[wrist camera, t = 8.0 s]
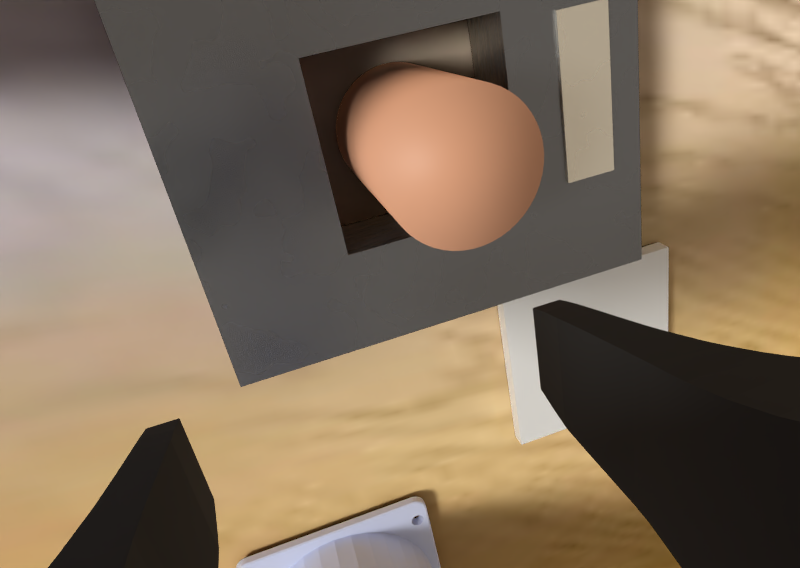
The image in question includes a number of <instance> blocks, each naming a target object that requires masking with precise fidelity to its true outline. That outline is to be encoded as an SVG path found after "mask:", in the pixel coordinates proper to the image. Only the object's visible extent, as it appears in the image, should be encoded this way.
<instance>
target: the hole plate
mask: <svg viewBox="0 0 800 568" xmlns="http://www.w3.org/2000/svg"><path fill="white" fill-rule="evenodd" d="M94 1H95V4H96V6H97V9H98V12H99V14H100V17H101V20H102V22H103V25H104V28H105V30H106V33H107V35H108V38H109V41H110V43H111V46H112V49H113V51H114V54H115V57H116V59H117V62H118V64H119V67H120V70H121V72H122V75H123V78H124V80H125V83H126V86H127V88H128V91H129V93H130V96H131V99H132V101H133V104H134V107H135V109H136V112H137V114H138V117H139V120H140V122H141V125H142V128H143V130H144V133H145V136H146V138H147V141H148V143H149V146H150V149H151V151H152V154H153V157H154V159H155V162H156V165H157V167H158V170H159V172H160V175H161V178H162V180H163V183H164V186H165V188H166V191H167V194H168V196H169V199H170V201H171V204H172V207H173V209H174V212H175V215H176V217H177V220H178V223H179V225H180V228H181V230H182V233H183V236H184V238H185V241H186V244H187V246H188V249H189V252H190V254H191V257H192V259H193V262H194V265H195V267H196V270H197V273H198V275H199V278H200V281H201V283H202V286H203V288H204V291H205V294H206V296H207V299H208V302H209V304H210V307H211V310H212V312H213V315H214V317H215V320H216V323H217V325H218V328H219V331H220V333H221V336H222V339H223V341H224V344H225V346H226V349H227V352H228V354H229V357H230V360H231V362H232V365H233V368H234V370H235V373H236V375H237V378H238V381H239V383H240V386H241V387H242V386H245V385H248V384H252V383H255V382H258V381H261V380H264V379H267V378H270V377H274V376H277V375H280V374H283V373H286V372H289V371H292V370H296V369H299V368H302V367H305V366H308V365H311V364H314V363H318V362H321V361H324V360H327V359H330V358H333V357H336V356H340V355H343V354H346V353H349V352H352V351H355V350H358V349H362V348H365V347H368V346H371V345H374V344H377V343H380V342H384V341H387V340H390V339H393V338H396V337H399V336H402V335H406V334H409V333H412V332H415V331H418V330H421V329H424V328H428V327H431V326H434V325H437V324H440V323H443V322H446V321H450V320H453V319H456V318H459V317H462V316H465V315H468V314H472V313H475V312H478V311H481V310H484V309H487V308H490V307H494V306H497V305H500V304H503V303H506V302H509V301H512V300H516V299H519V298H522V297H525V296H528V295H531V294H534V293H538V292H541V291H544V290H547V289H550V288H553V287H556V286H560V285H563V284H566V283H569V282H572V281H575V280H578V279H582V278H585V277H588V276H591V275H594V274H597V273H600V272H604V271H607V270H610V269H613V268H616V267H619V266H622V265H626V264H629V263H632V262H635V261H638V260H641V259H642V246H641V184H640V121H639V59H638V0H94ZM464 19H467V22H468V29H469V37H470V44H471V52H472V60H473V67H474V75H475V79H477V80H481V81H485V82H489V83H493V84H495V85H498V86H501V87H503V88H505V89H507V90H509V91H510V92H512V93H513V94H514V95H516V96H517V97H519V98H520V99H521V100H522V101H523V102H524V103H525V105H526V106H527V107H528V108H529V110H530V111H531V113H532V114H533V116H534V118H535V120H536V122H537V124H538V126H539V129H540V132H541V136H542V140H543V147H544V167H543V174H542V178H541V182H540V186H539V188H538V191H537V193H536V196H535V198H534V200H533V202H532V204H531V205H530V207H529V208H528V210H527V211H526V213H525V214H524V216H523V217H522V218H521V219H520V220H519V222H518V223H517V224H516V225H515V226H513V227H512V228H511V229H510V230H509V231H508V232H506V233H505V234H504V235H503V236H501V237H499V238H498V239H496V240H494V241H493V242H491V243H488V244H486V245H484V246H481V247H478V248H474V249H470V250H464V251H448V250H441V249H436V248H433V247H430V246H428V245H425V244H423V243H421V242H420V241H418V240H416V239H415V238H413V237H412V236H411V235H409V234H408V233H407V232H406V231H405V230H404V229H403V228H402V227H401V226H400V224H399V223H398V222H397V221H396V220H395V219H394V218H393V217H392V215H391V214H390V213H389V214H386V215H382V216H378V217H375V218H371V219H368V220H364V221H361V222H357V223H354V224H350V225H347V226H343V227H341V225H340V221H339V217H338V213H337V209H336V205H335V201H334V197H333V193H332V189H331V185H330V181H329V177H328V173H327V169H326V165H325V161H324V157H323V154H322V150H321V146H320V142H319V138H318V134H317V130H316V126H315V122H314V118H313V114H312V110H311V106H310V102H309V98H308V94H307V90H306V86H305V82H304V78H303V74H302V70H301V66H300V62H299V58H301V57H305V56H310V55H314V54H318V53H323V52H327V51H331V50H335V49H340V48H344V47H348V46H353V45H357V44H361V43H366V42H370V41H374V40H378V39H383V38H387V37H391V36H396V35H400V34H404V33H408V32H413V31H417V30H421V29H426V28H430V27H434V26H439V25H443V24H447V23H451V22H456V21H460V20H464Z"/></svg>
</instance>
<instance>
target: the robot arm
mask: <svg viewBox="0 0 800 568" xmlns="http://www.w3.org/2000/svg"><path fill="white" fill-rule="evenodd" d="M533 317H534V327H535V337H536V347H537V357H538V367H539V377H540V387H541V390H542V392H543V393H544V395H545V396H546V398H547V400H548V401H549V403H550V404H551V406H552V407H553V409H554V411H555V412H556V413H557V415H558V416H559V418H560V419H561V421H562V422H563V424H564V425H565V427H566V428H567V429H568V430H569V431H570V432H571V434H572V435H573V436H574V437H575V438H576V439H577V441H578V442H579V443H580V444H581V445H582V446H583V447H584V449H585V450H586V451H587V452H588V453H589V454H590V455H591V457H592V458H593V459H594V460H595V461H596V462H597V463H598V464H599V465H600V467H601V468H602V469H603V470H604V471H605V472H606V473H607V474H608V476H609V477H610V478H611V479H612V480H613V481H614V482H615V483H616V485H617V486H618V487H619V488H620V489H621V490H622V491H623V492H624V494H625V495H626V496H627V497H628V498H629V499H630V500H631V501H632V503H633V504H634V505H635V506H636V507H637V508H638V510H639V511H640V512H641V513H642V515H643V516H644V517H645V518H646V519H647V521H648V522H649V523H650V524H651V526H652V527H653V528H654V530H655V531H656V533H657V534H658V535H659V537H660V538H661V540H662V541H663V542H664V544H665V545H666V547H667V548H668V549H669V551H670V552H671V553H672V555H673V556H674V558H675V559H676V560H677V562H678V563H679V565H680V566H681V567H682V568H800V357H794V356H785V355H778V354H771V353H764V352H758V351H753V350H747V349H742V348H736V347H731V346H725V345H720V344H716V343H711V342H707V341H702V340H698V339H694V338H690V337H687V336H683V335H679V334H675V333H671V332H667V331H664V330H660V329H657V328H653V327H650V326H646V325H643V324H640V323H637V322H633V321H630V320H627V319H624V318H621V317H617V316H614V315H611V314H608V313H605V312H602V311H599V310H595V309H592V308H589V307H586V306H582V305H579V304H575V303H572V302H568V301H563V300H557V301H554V302H550V303H547V304H544V305H541V306H538V307H534V308H533ZM418 515H419V516H418ZM415 516H418V517H417V518H414V517H415ZM218 562H219V545H218V533H217V522H216V513H215V504H214V498H213V496H212V493H211V491H210V489H209V486H208V484H207V482H206V479H205V477H204V475H203V472H202V470H201V468H200V465H199V463H198V461H197V458H196V456H195V454H194V451H193V449H192V447H191V444H190V442H189V440H188V437H187V435H186V433H185V430H184V428H183V426H182V423H181V421H180V419H176V420H173V421H169V422H166V423H163V424H160V425H156V426H153V427H150V428H147V429H146V430H145V431H144V432H143V434H142V435H141V437H140V438H139V440H138V441H137V443H136V444H135V446H134V447H133V449H132V450H131V452H130V453H129V455H128V457H127V458H126V460H125V461H124V463H123V464H122V466H121V467H120V469H119V470H118V472H117V474H116V475H115V477H114V478H113V479H112V481H111V482H110V484H109V485H108V487H107V488H106V490H105V491H104V493H103V494H102V496H101V497H100V499H99V500H98V502H97V503H96V505H95V506H94V508H93V509H92V510H91V512H90V513H89V514H88V516H87V517H86V518H85V520H84V521H83V522H82V524H81V525H80V526H79V528H78V529H77V530H76V532H75V533H74V534H73V536H72V537H71V538H70V540H69V541H68V542H67V544H66V545H65V546H64V548H63V549H62V550H61V552H60V553H59V554H58V556H57V557H56V558H55V559H54V561H53V562H52V563H51V564H50V566H49V567H48V568H218ZM236 568H441V566H440V562H439V558H438V553H437V549H436V545H435V541H434V537H433V532H432V528H431V524H430V520H429V516H428V511H427V507H426V505H425V502H424V501H423V499H422V498H420V497H416V496H415V497H410V498H408V499H405V500H402V501H399V502H397V503H394V504H391V505H388V506H386V507H383V508H380V509H377V510H375V511H372V512H369V513H367V514H364V515H361V516H358V517H356V518H353V519H350V520H347V521H345V522H342V523H339V524H336V525H334V526H331V527H328V528H325V529H323V530H320V531H317V532H314V533H312V534H309V535H306V536H304V537H301V538H298V539H295V540H293V541H290V542H287V543H284V544H282V545H279V546H276V547H273V548H271V549H268V550H265V551H262V552H260V553H257V554H254V555H251V556H249V557H246V558H244V559H242V560H241V561H240V562H239V563H238V564H237V567H236Z"/></svg>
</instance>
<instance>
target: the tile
mask: <svg viewBox="0 0 800 568" xmlns="http://www.w3.org/2000/svg"><path fill="white" fill-rule="evenodd" d="M668 273H669V247H668V246H666V245H664V244H662V243H660V242H657V243H654V244H651V245H647V246H644V247H642V259H641V260H638V261H635V262H632V263H629V264H626V265H622V266H619V267H616V268H613V269H610V270H607V271H604V272H600V273H597V274H594V275H591V276H588V277H585V278H582V279H578V280H575V281H572V282H569V283H566V284H563V285H560V286H556V287H553V288H550V289H547V290H544V291H541V292H538V293H534V294H531V295H528V296H525V297H522V298H519V299H516V300H512V301H509V302H506V303H503V304H500V305H497V307H498V314H499V321H500V328H501V336H502V343H503V350H504V357H505V365H506V372H507V379H508V386H509V394H510V401H511V408H512V415H513V423H514V430H515V436H516V438H517V439H518V440H519V442H520V443H521V445H522V444H525V443H528V442H531V441H533V440H536V439H539V438H542V437H544V436H547V435H550V434H553V433H555V432H558V431H561V430H564V429H567V428H566V427H565V425H564V424H563V422H562V421H561V419H560V418H559V416H558V415H557V413H556V412H555V411H554V409H553V407H552V406H551V404H550V403H549V401H548V400H547V398H546V396H545V395H544V393H543V392H542V390H541V387H540V377H539V367H538V357H537V347H536V337H535V327H534V317H533V308H534V307H538V306H541V305H544V304H547V303H550V302H554V301H557V300H563V301H568V302H572V303H575V304H579V305H582V306H586V307H589V308H592V309H595V310H599V311H602V312H605V313H608V314H611V315H614V316H617V317H621V318H624V319H627V320H630V321H633V322H637V323H640V324H643V325H646V326H650V327H653V328H657V329H660V330H664V331H667V332H668Z"/></svg>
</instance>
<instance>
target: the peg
mask: <svg viewBox="0 0 800 568" xmlns="http://www.w3.org/2000/svg"><path fill="white" fill-rule="evenodd" d="M336 136H337V142H338V146H339V150H340V152H341V155H342V157H343V159H344V161H345V162H346V164H347V165H348V167H349V168H350V169H351V170H352V172H353V173H354V174H355V175H356V176H357V177H358V178H359V179H360V181H361V182H362V183H363V184H364V185H365V186H366V187H367V188H368V190H369V191H370V192H371V193H372V194H373V195H374V196H375V197H376V199H377V200H378V201H379V202H380V203H381V204H382V205H383V206H384V208H385V209H386V210H387V211H388V212H389V213H390V214H391V215H392V217H393V218H394V219H395V220H396V221H397V222H398V223H399V224H400V226H401V227H402V228H403V229H404V230H405V231H406V232H407V233H408V234H409V235H411V236H412V237H413V238H415V239H416V240H418V241H420V242H421V243H423V244H425V245H428V246H430V247H433V248H436V249H441V250H448V251H464V250H470V249H474V248H478V247H481V246H484V245H486V244H488V243H491V242H493V241H494V240H496V239H498V238H499V237H501V236H503V235H504V234H505V233H506V232H508V231H509V230H510V229H511V228H512V227H513V226H515V225H516V224H517V223H518V222H519V220H520V219H521V218H522V217H523V216H524V214H525V213H526V211H527V210H528V208H529V207H530V205H531V204H532V202H533V200H534V198H535V196H536V193H537V191H538V188H539V186H540V182H541V178H542V174H543V167H544V147H543V140H542V136H541V132H540V129H539V126H538V124H537V122H536V120H535V118H534V116H533V114H532V113H531V111H530V110H529V108H528V107H527V106H526V105H525V103H524V102H523V101H522V100H521V99H520V98H519V97H517V96H516V95H514V94H513V93H512V92H510V91H509V90H507V89H505V88H503V87H501V86H498V85H495V84H493V83H489V82H485V81H481V80H477V79H473V78H469V77H465V76H461V75H457V74H453V73H449V72H445V71H441V70H437V69H433V68H428V67H424V66H420V65H416V64H412V63H407V62H391V63H386V64H382V65H379V66H376V67H374V68H372V69H370V70H368V71H367V72H365V73H364V74H363V75H361V76H360V77H359V78H358V79H357V80H356V81H355V82H354V83H353V84H352V85H351V86H350V88H349V89H348V90H347V92H346V94H345V95H344V97H343V99H342V102H341V104H340V107H339V110H338V114H337V120H336Z"/></svg>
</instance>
